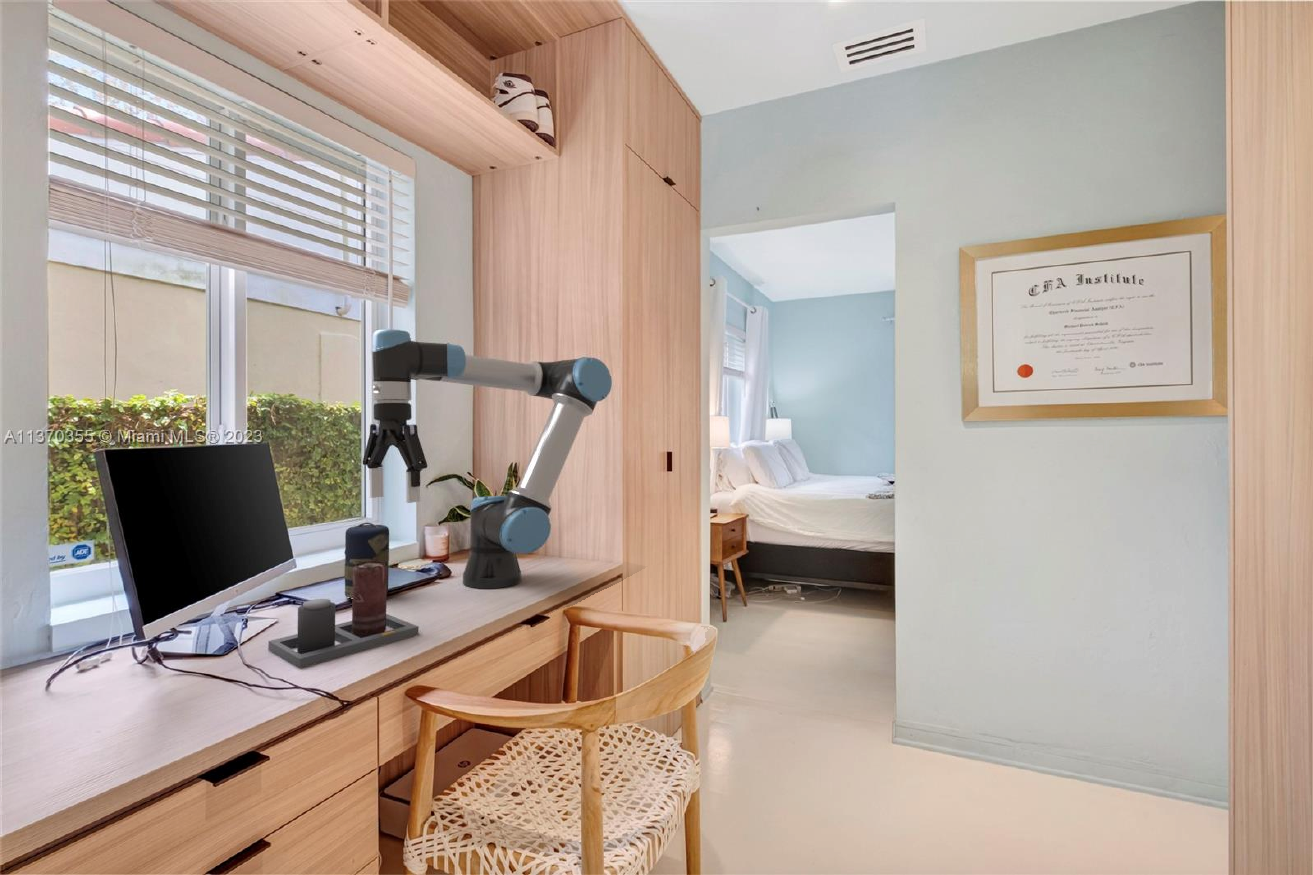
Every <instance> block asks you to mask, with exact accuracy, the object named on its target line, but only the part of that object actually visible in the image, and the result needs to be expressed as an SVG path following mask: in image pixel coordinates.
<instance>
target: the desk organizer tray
mask: <svg viewBox="0 0 1313 875" xmlns="http://www.w3.org/2000/svg"><path fill="white" fill-rule="evenodd" d="M386 627H388V628H390V630H385V632H382V633H379V634H375V635H371V636H368V637H364V638H360V637H357V636H355V635H353V634H352V620H351V621H345V622H342V623H338V624H335V642H338V643H339V644H335V645H334V646H330V647H327V648H323V649H319V650H315V651H312V652H308V653H304V654H299V653H298V652H297V650H294V649H293V648H295V647H297V638H298V633H296V634H295V633H294V634H292V635H288V636H287V635H286V636H283V637H280V638H275V639H271V640H268V651H270V652H272V653H273V654H275V655H276V656H279V657H280V658H282V659H283V660H284V661H286V662H288V663H290V664H292V665H293V666H295V667H297V668H299V669H302V668H305V667H309V666H312V665H316V664H317V665H318V664H320V663H322V662H323V663H324V662H326V661H330V660H334V659H337V658H340V657H344V656H347V655H351V654H355V653H358V652H361V651H365V650H368V649H372V648H376V647H380V646H382V645H386V644H389V643H393V642H397V641H400V640H403V639H406V638H411V637H413V636H418V635H419V631H420V630H419V625H416V624H413V623H411V622H408V621H405V620H403V619H400V618H398V617H397V616H396V617H395V616H393V615H390V614H388V613H386Z"/></svg>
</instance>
